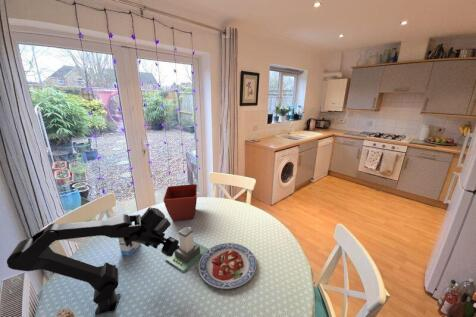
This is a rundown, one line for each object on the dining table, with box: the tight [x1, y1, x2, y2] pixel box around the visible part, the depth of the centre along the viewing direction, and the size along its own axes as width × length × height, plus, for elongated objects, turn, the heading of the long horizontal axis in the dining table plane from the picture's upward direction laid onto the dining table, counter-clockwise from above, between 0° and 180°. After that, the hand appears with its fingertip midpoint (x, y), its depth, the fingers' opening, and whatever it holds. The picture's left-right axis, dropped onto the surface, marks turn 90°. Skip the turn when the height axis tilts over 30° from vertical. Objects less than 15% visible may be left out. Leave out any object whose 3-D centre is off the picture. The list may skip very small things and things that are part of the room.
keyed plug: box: [177, 226, 194, 254], centre depth 97 cm, size 5×4×13 cm
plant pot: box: [162, 183, 198, 222], centre depth 130 cm, size 19×19×17 cm
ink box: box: [117, 223, 141, 256], centre depth 101 cm, size 8×5×12 cm, turn 168°
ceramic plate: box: [198, 242, 257, 290], centre depth 92 cm, size 26×26×3 cm
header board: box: [165, 240, 209, 273], centre depth 98 cm, size 16×12×4 cm
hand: (171, 243), depth 89 cm, fingers open, 9 cm apart
